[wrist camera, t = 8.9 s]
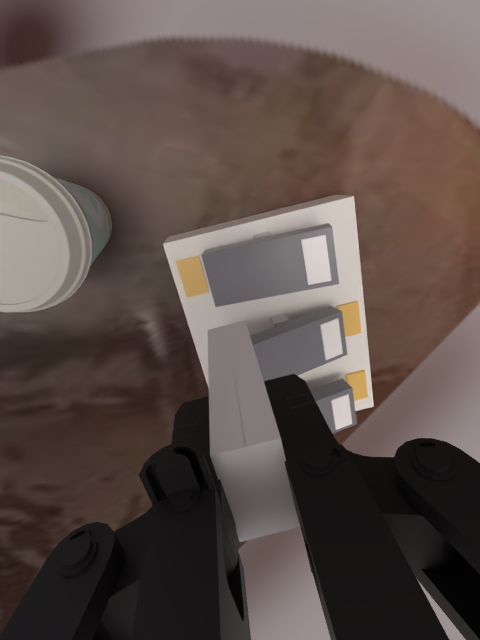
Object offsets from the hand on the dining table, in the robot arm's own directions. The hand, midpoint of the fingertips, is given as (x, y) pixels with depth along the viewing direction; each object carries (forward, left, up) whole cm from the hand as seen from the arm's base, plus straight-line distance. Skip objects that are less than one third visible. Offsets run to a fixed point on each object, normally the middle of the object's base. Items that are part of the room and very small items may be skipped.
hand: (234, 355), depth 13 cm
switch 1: (+4, 0, -13) cm, 13 cm away
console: (+4, -7, -19) cm, 20 cm away
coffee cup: (-11, +6, -19) cm, 23 cm away
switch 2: (+4, -7, -13) cm, 15 cm away
